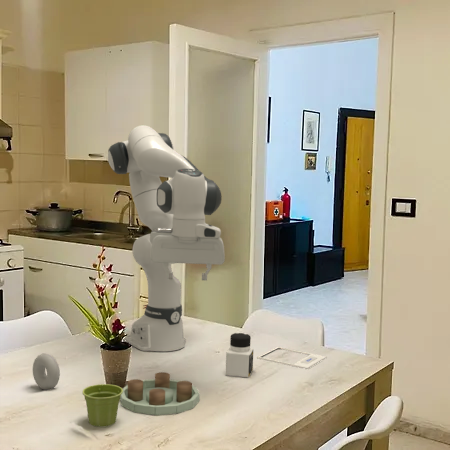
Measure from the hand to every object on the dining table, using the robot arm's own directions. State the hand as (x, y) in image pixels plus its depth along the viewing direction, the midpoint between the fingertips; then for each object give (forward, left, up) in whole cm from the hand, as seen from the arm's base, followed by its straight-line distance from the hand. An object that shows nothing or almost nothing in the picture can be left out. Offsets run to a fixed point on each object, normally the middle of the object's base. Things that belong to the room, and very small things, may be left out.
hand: (187, 279), depth 177 cm
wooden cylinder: (0, -8, -30) cm, 31 cm away
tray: (+4, -12, -31) cm, 33 cm away
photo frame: (+1, +46, -32) cm, 56 cm away
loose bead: (+8, -8, -30) cm, 32 cm away
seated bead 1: (0, -17, -30) cm, 34 cm away
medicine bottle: (0, +22, -31) cm, 38 cm away
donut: (-24, -29, -31) cm, 49 cm away
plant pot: (+6, -31, -31) cm, 44 cm away
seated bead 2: (+9, -17, -30) cm, 35 cm away
